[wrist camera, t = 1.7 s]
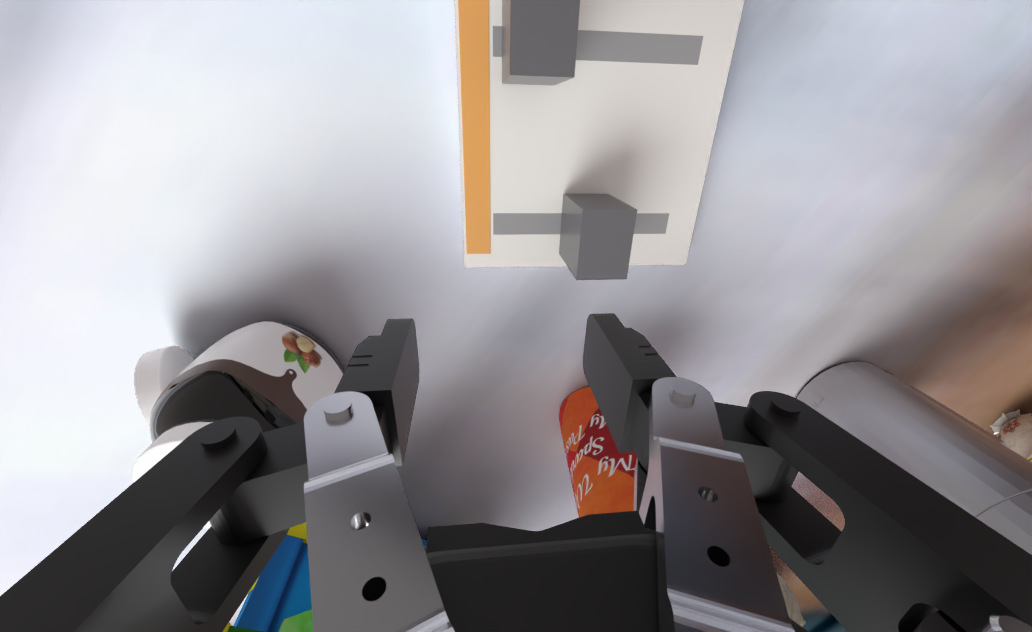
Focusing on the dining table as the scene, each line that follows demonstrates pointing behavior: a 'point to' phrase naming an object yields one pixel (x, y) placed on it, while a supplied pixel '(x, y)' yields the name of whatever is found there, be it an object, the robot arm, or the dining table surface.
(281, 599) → the blue yellow rectangular box
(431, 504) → the dining table surface
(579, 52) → the panel
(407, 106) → the dining table surface
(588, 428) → the coffee cup
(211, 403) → the spread jar
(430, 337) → the dining table surface
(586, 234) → the block
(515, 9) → the breaker
